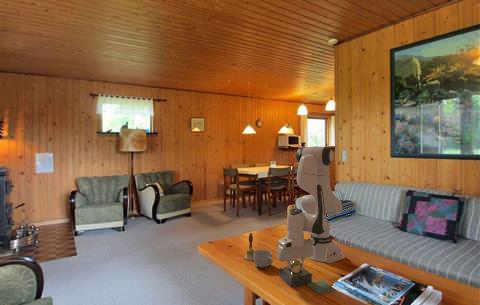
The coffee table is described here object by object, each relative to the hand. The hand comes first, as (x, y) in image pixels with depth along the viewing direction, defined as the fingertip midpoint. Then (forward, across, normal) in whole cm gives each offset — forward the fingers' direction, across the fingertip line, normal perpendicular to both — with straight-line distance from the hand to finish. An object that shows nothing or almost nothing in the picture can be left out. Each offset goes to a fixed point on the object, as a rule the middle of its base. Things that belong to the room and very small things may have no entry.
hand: (295, 266), depth 143 cm
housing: (+7, 0, 0) cm, 7 cm away
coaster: (+7, -8, +11) cm, 15 cm away
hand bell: (+7, +12, -34) cm, 37 cm away
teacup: (+7, +9, -20) cm, 23 cm away
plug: (+7, 0, 0) cm, 7 cm away
